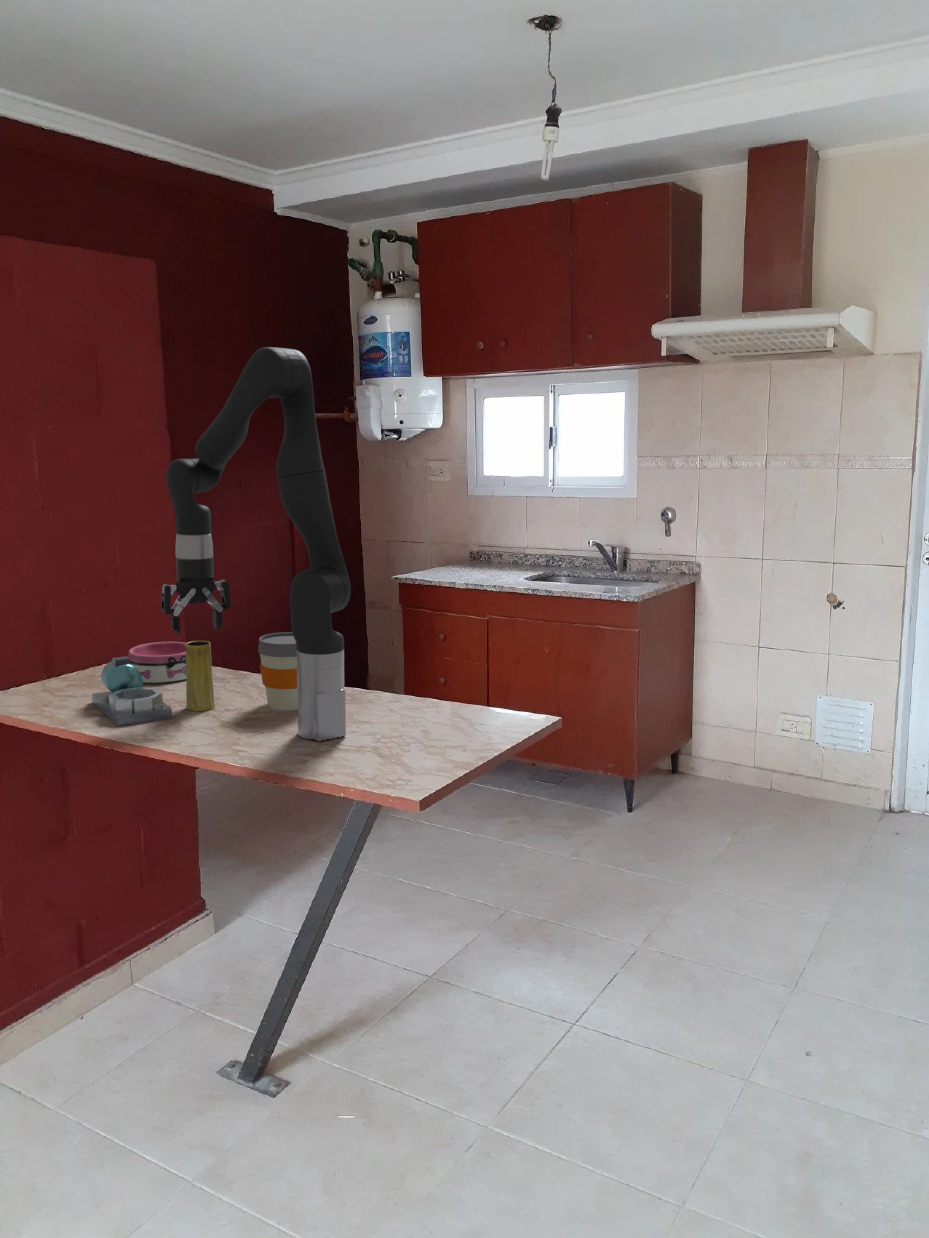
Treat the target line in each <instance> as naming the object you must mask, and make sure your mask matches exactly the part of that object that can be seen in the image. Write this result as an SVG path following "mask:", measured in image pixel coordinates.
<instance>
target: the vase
mask: <svg viewBox="0 0 929 1238" xmlns="http://www.w3.org/2000/svg"><path fill="white" fill-rule="evenodd" d="M185 643H186V644H185V647H186V681H185V682H186V692H185V693H186V705H185V709H186V710H187V711H190V712H207V711H209V710H212V709H213V710H214V708H215V706H216V704H215V698H214V682H213V681H214V678H213V667H212V647H211V642H210V641H209V640H208V641H207V640H192V641H188V642H185Z"/></svg>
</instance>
